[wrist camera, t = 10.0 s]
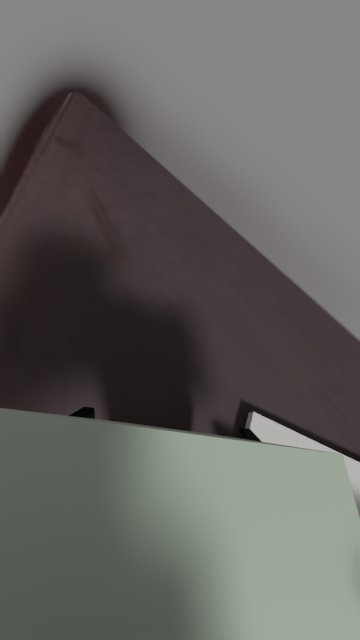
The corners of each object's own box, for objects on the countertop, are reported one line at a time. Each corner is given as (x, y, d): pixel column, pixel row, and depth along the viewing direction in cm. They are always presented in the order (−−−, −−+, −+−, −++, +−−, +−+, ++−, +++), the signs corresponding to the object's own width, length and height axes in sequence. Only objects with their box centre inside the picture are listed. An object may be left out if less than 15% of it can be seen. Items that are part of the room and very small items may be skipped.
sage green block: (209, 482, 11) (429, 779, 2) (111, 468, 11) (-186, 679, 2) (211, 434, 13) (342, 453, 3) (122, 422, 13) (-21, 405, 3)
